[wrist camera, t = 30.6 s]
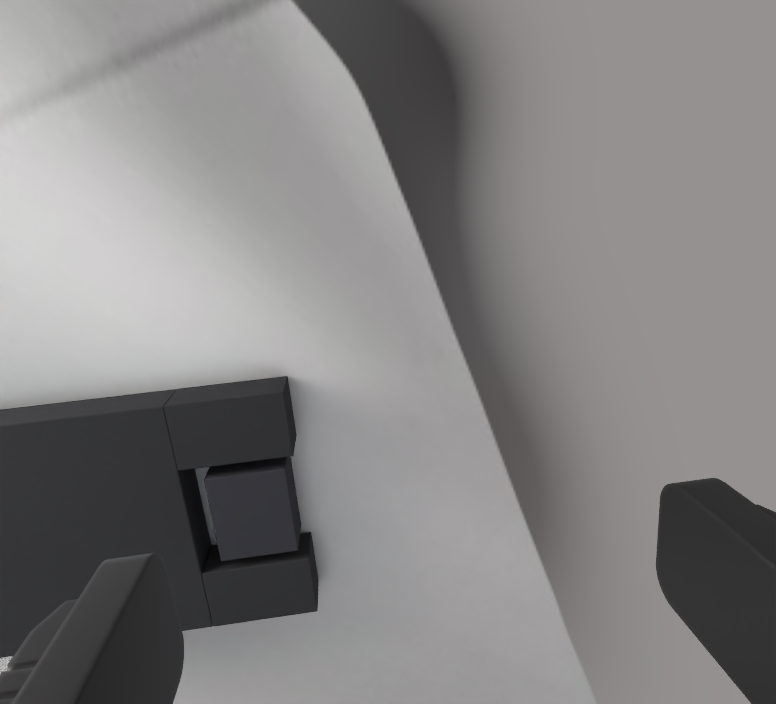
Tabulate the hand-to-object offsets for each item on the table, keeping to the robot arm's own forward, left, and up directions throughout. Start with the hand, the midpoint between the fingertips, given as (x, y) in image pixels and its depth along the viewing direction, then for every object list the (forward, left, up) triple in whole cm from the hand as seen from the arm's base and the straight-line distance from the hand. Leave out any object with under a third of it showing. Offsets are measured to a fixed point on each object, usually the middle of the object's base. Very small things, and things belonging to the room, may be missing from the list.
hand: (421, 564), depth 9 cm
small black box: (+8, +13, -26) cm, 30 cm away
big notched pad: (+17, +13, -26) cm, 34 cm away
